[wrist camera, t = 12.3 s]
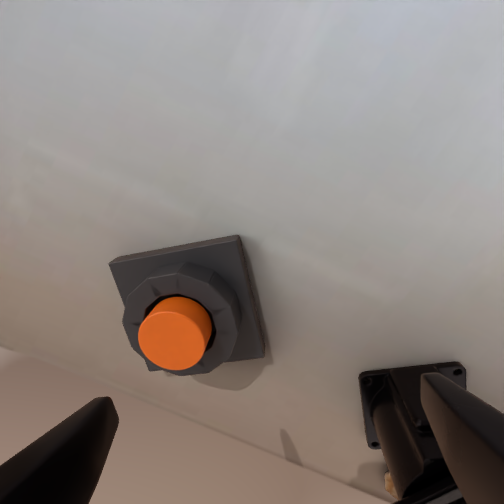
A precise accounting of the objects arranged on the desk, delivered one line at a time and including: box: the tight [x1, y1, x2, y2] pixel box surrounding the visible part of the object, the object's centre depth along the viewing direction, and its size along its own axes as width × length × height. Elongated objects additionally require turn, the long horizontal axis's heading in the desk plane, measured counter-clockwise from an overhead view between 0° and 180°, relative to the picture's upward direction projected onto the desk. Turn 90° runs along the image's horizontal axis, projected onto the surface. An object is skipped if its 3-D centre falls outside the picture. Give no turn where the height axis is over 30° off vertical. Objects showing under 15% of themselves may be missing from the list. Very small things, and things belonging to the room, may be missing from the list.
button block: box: [109, 235, 265, 376], centre depth 18 cm, size 8×8×3 cm
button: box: [138, 297, 212, 370], centre depth 16 cm, size 4×4×2 cm
